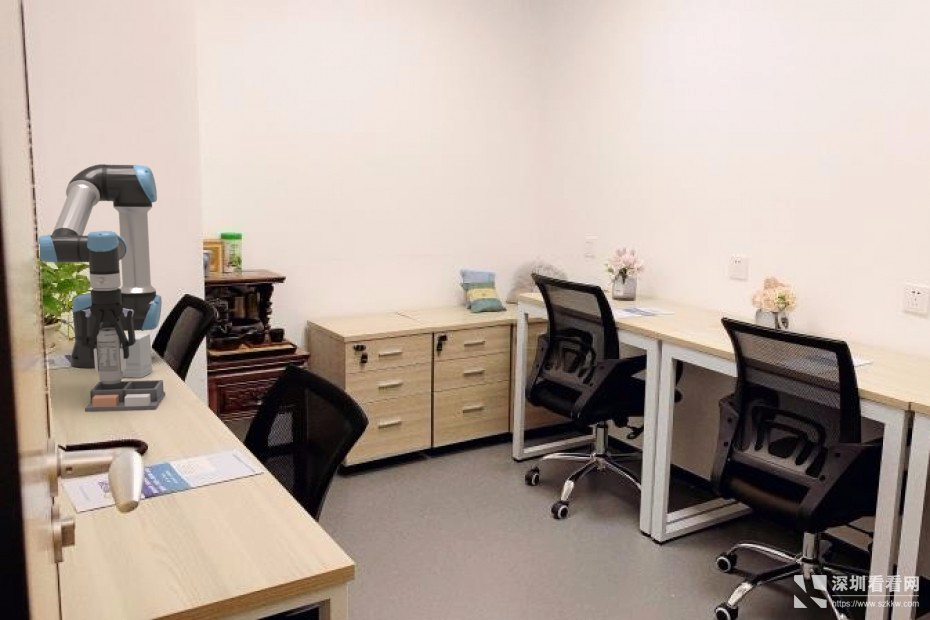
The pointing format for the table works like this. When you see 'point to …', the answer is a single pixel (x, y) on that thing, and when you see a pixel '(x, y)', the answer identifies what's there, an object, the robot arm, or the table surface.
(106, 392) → the socket deck
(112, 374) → the energy drink can
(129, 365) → the supplement box
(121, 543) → the table surface
